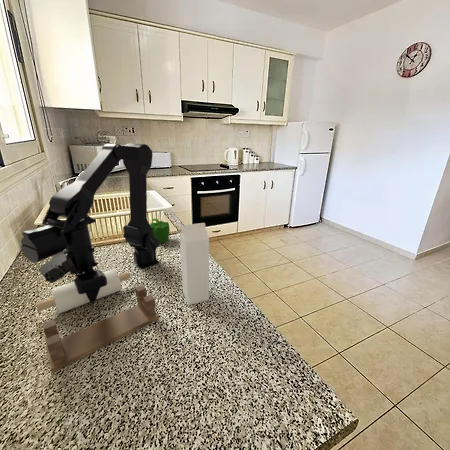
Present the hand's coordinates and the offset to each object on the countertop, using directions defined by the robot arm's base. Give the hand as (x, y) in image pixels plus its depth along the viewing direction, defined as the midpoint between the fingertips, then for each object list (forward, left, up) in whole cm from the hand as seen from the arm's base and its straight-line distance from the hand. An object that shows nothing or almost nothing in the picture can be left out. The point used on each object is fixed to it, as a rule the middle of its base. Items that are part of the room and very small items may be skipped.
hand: (89, 295), depth 65 cm
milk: (-23, +17, -1) cm, 29 cm away
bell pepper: (-32, -22, -2) cm, 39 cm away
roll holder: (0, +15, -1) cm, 15 cm away
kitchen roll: (0, 0, +2) cm, 2 cm away
